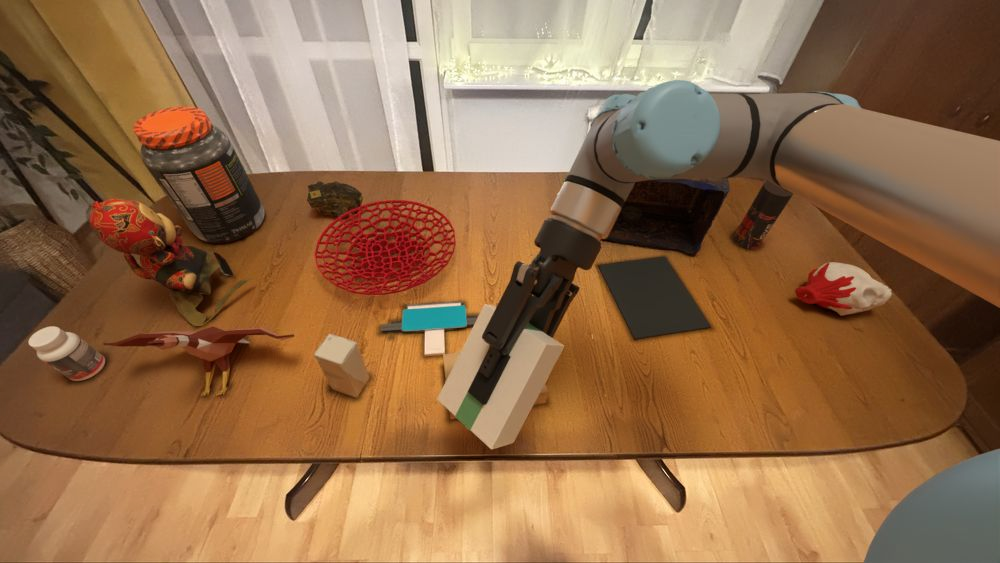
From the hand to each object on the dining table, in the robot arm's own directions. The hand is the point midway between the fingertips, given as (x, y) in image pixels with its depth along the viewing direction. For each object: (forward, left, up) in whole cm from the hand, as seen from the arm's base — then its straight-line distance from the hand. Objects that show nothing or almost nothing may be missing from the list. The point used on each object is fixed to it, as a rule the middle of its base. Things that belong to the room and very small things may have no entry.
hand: (490, 395), depth 52 cm
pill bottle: (+26, +67, -17) cm, 74 cm away
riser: (+11, -2, -17) cm, 20 cm away
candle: (+17, -73, -17) cm, 77 cm away
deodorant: (+37, -68, -17) cm, 80 cm away
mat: (+25, -38, -17) cm, 49 cm away
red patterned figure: (+40, +52, -17) cm, 67 cm away
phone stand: (+24, +7, -17) cm, 30 cm away
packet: (+2, -1, +2) cm, 3 cm away
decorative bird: (+22, +43, -17) cm, 51 cm away
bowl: (+45, +15, -17) cm, 50 cm away
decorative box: (+47, -43, -17) cm, 66 cm away
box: (+15, +22, -17) cm, 31 cm away
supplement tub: (+63, +52, -17) cm, 83 cm away
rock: (+64, +27, -17) cm, 71 cm away
